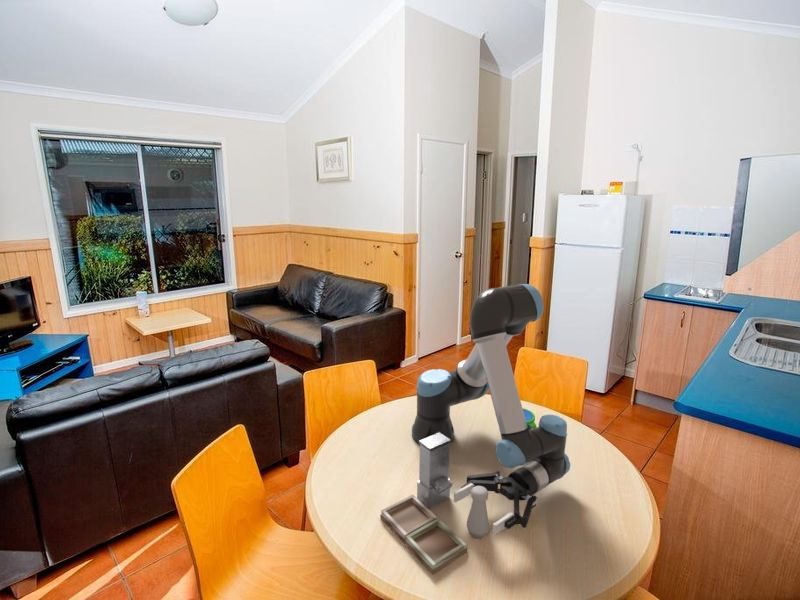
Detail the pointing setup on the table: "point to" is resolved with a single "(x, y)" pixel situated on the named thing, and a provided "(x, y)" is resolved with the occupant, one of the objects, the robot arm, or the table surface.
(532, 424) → the snack cup
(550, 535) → the table surface
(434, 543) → the grey brown flat rectangle
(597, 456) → the table surface
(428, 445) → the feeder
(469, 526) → the salt shaker
